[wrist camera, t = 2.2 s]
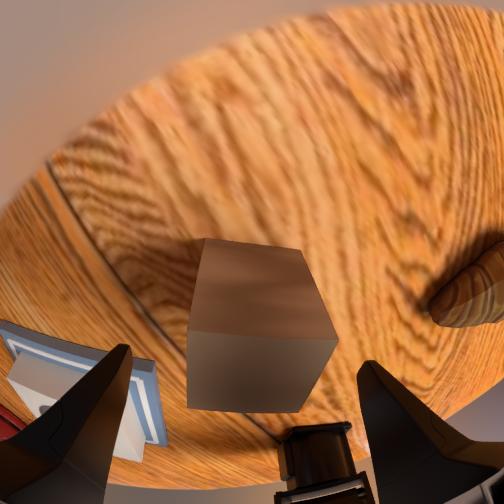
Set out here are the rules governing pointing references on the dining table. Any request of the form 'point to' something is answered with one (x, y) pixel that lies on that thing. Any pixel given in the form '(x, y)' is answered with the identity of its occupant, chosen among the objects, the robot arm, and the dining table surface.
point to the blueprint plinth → (93, 360)
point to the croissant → (473, 293)
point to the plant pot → (9, 424)
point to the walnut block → (255, 330)
